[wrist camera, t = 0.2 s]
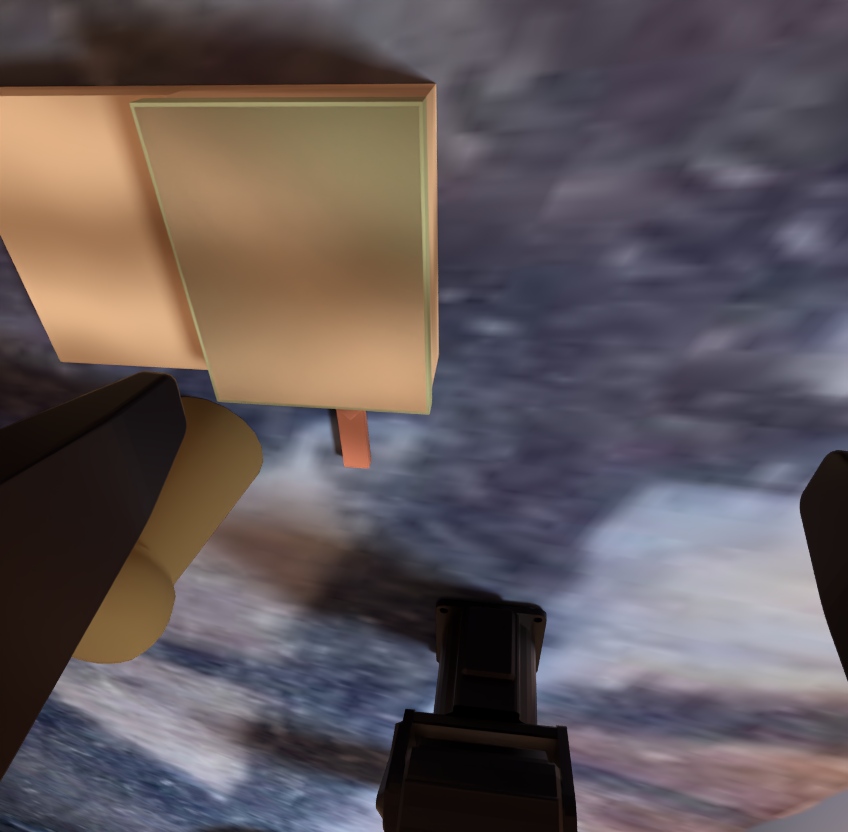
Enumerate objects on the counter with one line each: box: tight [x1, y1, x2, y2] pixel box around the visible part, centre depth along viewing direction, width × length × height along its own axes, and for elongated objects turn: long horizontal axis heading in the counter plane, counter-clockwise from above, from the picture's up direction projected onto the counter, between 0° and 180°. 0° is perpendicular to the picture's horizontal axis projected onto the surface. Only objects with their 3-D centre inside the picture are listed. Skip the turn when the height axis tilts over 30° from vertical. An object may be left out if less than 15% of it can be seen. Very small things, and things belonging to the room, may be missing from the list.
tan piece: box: [0, 84, 439, 468], centre depth 22 cm, size 16×16×4 cm
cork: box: [72, 397, 263, 664], centre depth 25 cm, size 6×6×11 cm
